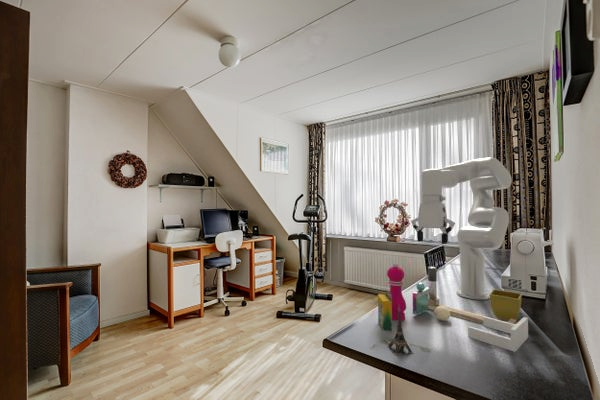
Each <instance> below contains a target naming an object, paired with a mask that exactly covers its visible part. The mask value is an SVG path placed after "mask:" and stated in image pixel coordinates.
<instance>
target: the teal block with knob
mask: <svg viewBox="0 0 600 400" xmlns="http://www.w3.org/2000/svg"><path fill="white" fill-rule="evenodd" d="M437 271H438V270H437V267H436V266H427V282H428V283H427V285H428V286H427V287H426V286H425V284H424V283H422V282H417V284H416V287H415V288H416V289H417V290H416V291H414V292H412V315H414V316H415V315H416V316H418V315H420V314H422V313H424V312H426V311H428V310H429V309H428V304H431V305H435V306H436V305H439V304H440V305H441V303H440V298H437V293H438V291H437V289H438V288H437V284H438V283H437V280H438V272H437Z"/></svg>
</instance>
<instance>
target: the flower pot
mask: <svg viewBox="0 0 600 400" xmlns="http://www.w3.org/2000/svg"><path fill="white" fill-rule="evenodd" d="M488 295H489V301H490V307H491V309H492V312H493V314H494V316H495V317H496V318H497V320H501V321H506V322H508V321H509V320H510V319H514V320H516V321H517V319H518V317H519V314H520V311H521V306H522V299H523V298H522V297H523V294H522V293H520V292H515V291H514V292H513V291H505V290H501V289H492V291H491V292H490V293H489V294H488Z"/></svg>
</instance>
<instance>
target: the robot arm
mask: <svg viewBox="0 0 600 400" xmlns="http://www.w3.org/2000/svg"><path fill="white" fill-rule="evenodd" d="M512 180H513V179H512V176H511V174H510V172H509V171H508V169H507V168H506V167H505V165H503V163H502V162H501V161H500V160H498V159H497V158H495V157H491V156H490V157H482V158H476V159H470V160H467V161H464V162H460V163H457V164H453V165H449V166H448V165H447V166H445V167H442V168H441V167H440V168H429V169H428V168H427V169H424V170H422V171H421V203H420V204H419V206H418V207H419V208H418V214H417V217H416V218H413V219H412V220H410V223H411V226H412V227H413V229H414V230H415V231H416V239H417V242H419V243H420V242H423V241H424V231H423V230H424V228H425V229H439V230H440V231H441V232H442V233H441V245H446V244H447V243H448V242H449V233H450V232H451V231H452V230H454V229H453V228H454V227H455V225H456V223H455V221H453V220H451V219H449V218H448V217H447V209H446V204H445V203H443V201H446V200H447V199H446V196H443V189H451V188H454V187H456V186H457V185H458V184H460V183H462V184H463V183H465V182H468V181H469V187H470V188H471V192H472V194H473V201H472V204H471V208H470V210H469V213H468V216H467V223H468V224H469V226H468V225H465V226H462V227H460V228H459V229H458V231H457V234H456V236H457V242H458V246H459V271H460V274H459V275H460V277H459V279H460V280H459V281H460V289H458V290H456V295H458V296H460V297H462V298H466V299H470V300H478V301H479V300H484V301H485V300H489V299H490V295H489V294H488V293H486V289H485V288H486V284H485V281H486V279H485V277H486V276H485V275H486V274H485V256H484V253H482V251H481V249H485V250H493V251H494V250H498V249H500V248H501V247H502V245H503V243H504V240H505V239H504V238H505V236H506V232H507V230H508V226H509V224H510V223H509V222H510V216H509V212H508V211H507V210H506V209H505V208H503V207H499V206H497V207H495V203H496V202H495V199H494V198H493V196H492V195H491V194H490V193H489V192H488V191H496V190H506V189H508V188H509V187H511V185H512V182H513V181H512ZM417 224H418V225H417ZM447 226H448V227H447Z"/></svg>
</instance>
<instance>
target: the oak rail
mask: <svg viewBox="0 0 600 400" xmlns="http://www.w3.org/2000/svg"><path fill="white" fill-rule="evenodd" d="M438 306H444V307H446V308H447V309H448V310H449V311H450V316H452V317H453V316H454V317H456V318H461V319H464V320H467V321H471V322H475V323H478V324H481V325H483V317H484V316H485V315H481V314H477V313H473V312H470V311H466V310H462V309H458V308H455V307H450V306H446V305H443V304H441V303H440V304H439V305H436V306H435V305H431V304H428V310H430V311H431V310H432V311H435V309H436V307H438ZM485 317H487V316H485ZM507 322H508V323H512V324H517V319H516V320H514V319H510V320H509V321H507Z"/></svg>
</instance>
